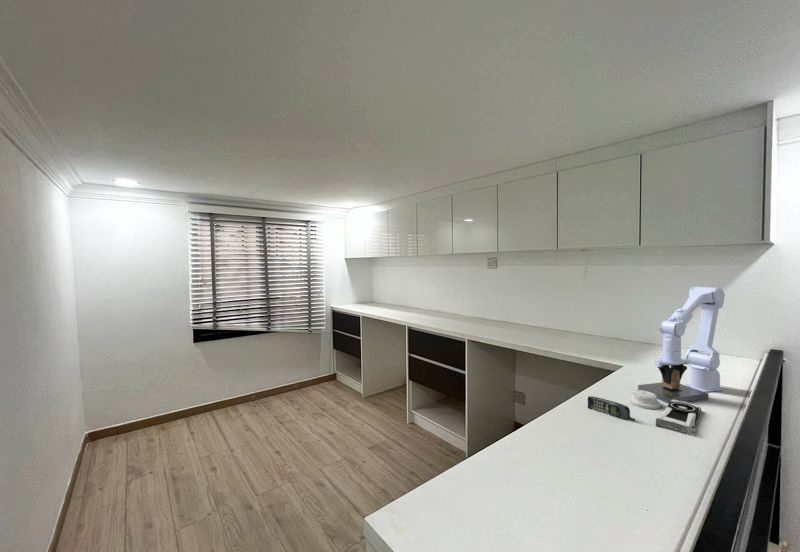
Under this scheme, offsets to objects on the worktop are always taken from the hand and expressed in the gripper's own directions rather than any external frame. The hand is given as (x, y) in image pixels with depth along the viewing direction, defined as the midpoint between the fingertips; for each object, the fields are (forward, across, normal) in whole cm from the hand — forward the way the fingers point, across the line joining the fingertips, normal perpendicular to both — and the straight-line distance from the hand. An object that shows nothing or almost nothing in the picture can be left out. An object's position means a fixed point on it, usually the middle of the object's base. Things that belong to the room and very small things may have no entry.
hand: (671, 382), depth 134 cm
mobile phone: (+6, +37, +9) cm, 39 cm away
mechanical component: (+6, +18, +4) cm, 19 cm away
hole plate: (+5, 0, 0) cm, 5 cm away
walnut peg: (+2, 0, 0) cm, 2 cm away
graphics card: (+6, +17, +18) cm, 25 cm away
